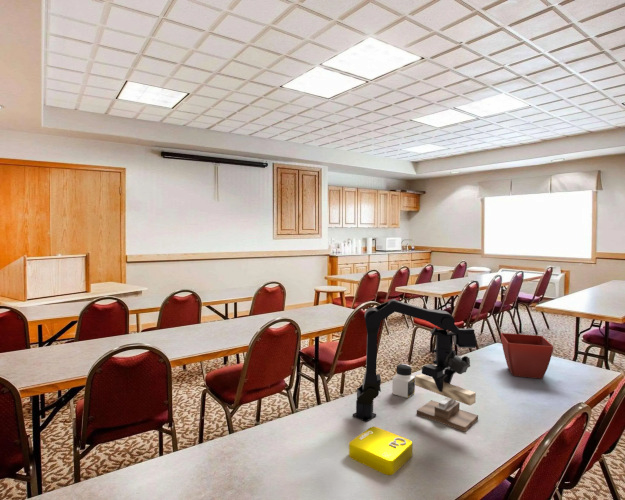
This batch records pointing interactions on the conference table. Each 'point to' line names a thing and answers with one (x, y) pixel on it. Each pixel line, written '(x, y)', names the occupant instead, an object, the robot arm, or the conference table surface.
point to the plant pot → (526, 354)
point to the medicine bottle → (403, 381)
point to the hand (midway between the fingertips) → (443, 390)
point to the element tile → (381, 450)
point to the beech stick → (446, 390)
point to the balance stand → (448, 414)
